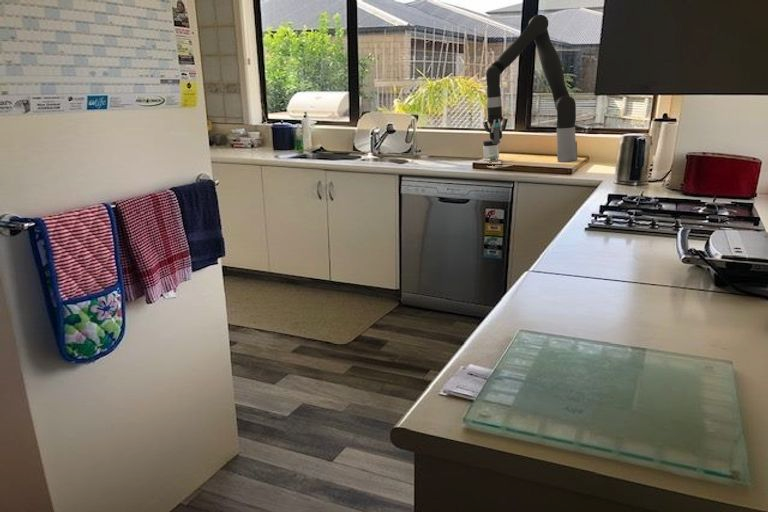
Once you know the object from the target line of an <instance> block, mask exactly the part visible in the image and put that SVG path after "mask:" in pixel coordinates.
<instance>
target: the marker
mask: <svg viewBox="0 0 768 512" xmlns="http://www.w3.org/2000/svg"><path fill="white" fill-rule="evenodd" d="M493 133H494V140H493V144H498V145H499V144H501V141H500V140H501V139H500V135H499V123H495V127H494V130H493Z"/></svg>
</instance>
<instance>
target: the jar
mask: <svg viewBox="0 0 768 512" xmlns="http://www.w3.org/2000/svg"><path fill="white" fill-rule="evenodd" d="M482 143H483V146H482V148H483V151H482V152H483V160H484V159H490V158H488V156H489V155H497V158H496V159H498V158H499V159H500V152H499V151H500V149H499V144H493V140H491V139H487V140H483V142H482Z"/></svg>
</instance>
